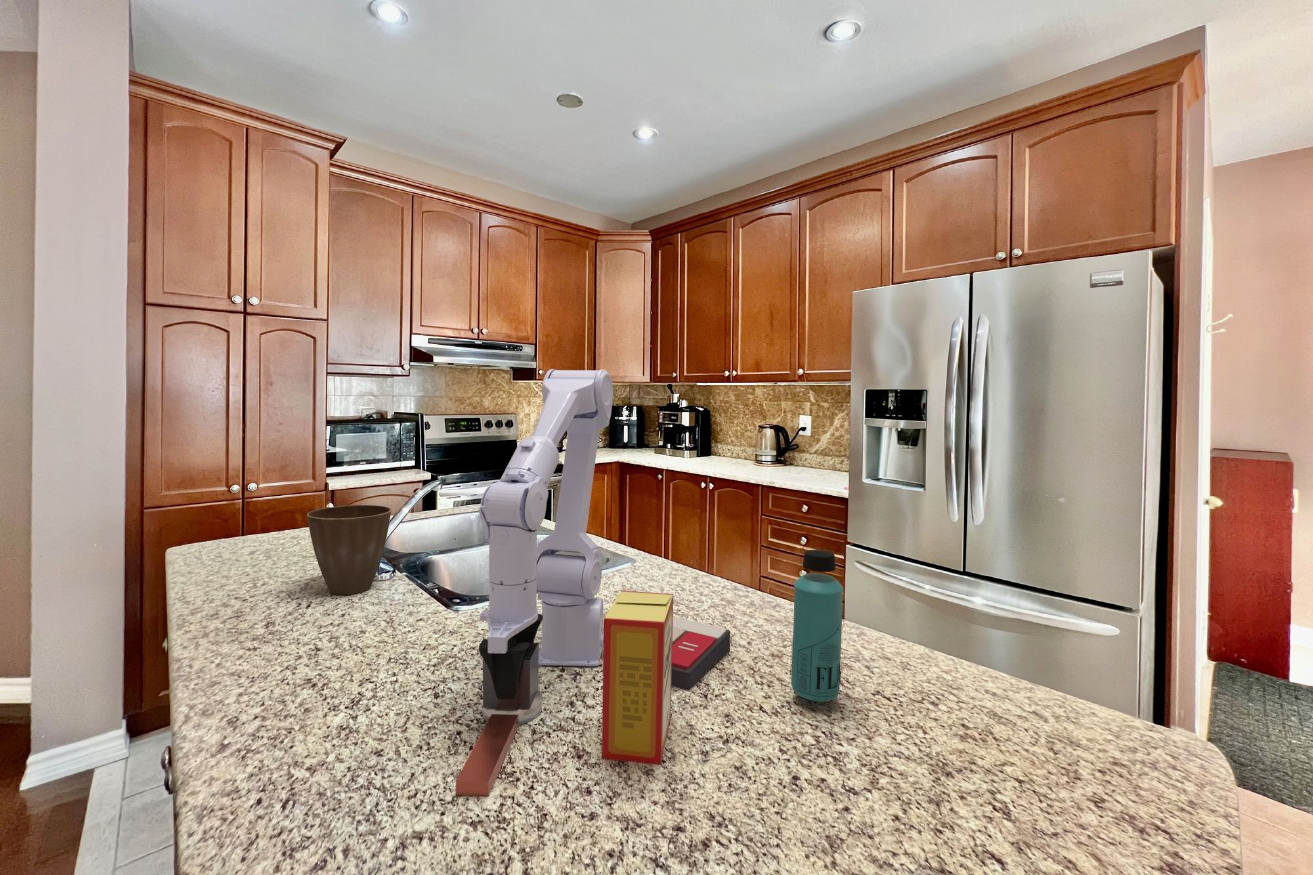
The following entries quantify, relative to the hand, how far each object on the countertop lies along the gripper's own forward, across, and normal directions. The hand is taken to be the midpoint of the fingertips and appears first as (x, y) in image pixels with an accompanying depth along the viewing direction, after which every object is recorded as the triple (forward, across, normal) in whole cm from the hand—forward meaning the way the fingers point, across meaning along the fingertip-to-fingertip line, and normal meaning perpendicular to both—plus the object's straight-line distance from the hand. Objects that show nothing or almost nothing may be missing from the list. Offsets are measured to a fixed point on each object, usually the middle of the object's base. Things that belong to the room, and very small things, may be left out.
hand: (512, 684), depth 72 cm
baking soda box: (+3, +5, +16) cm, 17 cm away
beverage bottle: (+3, -4, +39) cm, 39 cm away
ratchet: (+3, +6, 0) cm, 7 cm away
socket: (+2, 0, 0) cm, 2 cm away
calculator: (+4, -15, +21) cm, 26 cm away
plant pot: (+3, -44, -44) cm, 62 cm away
